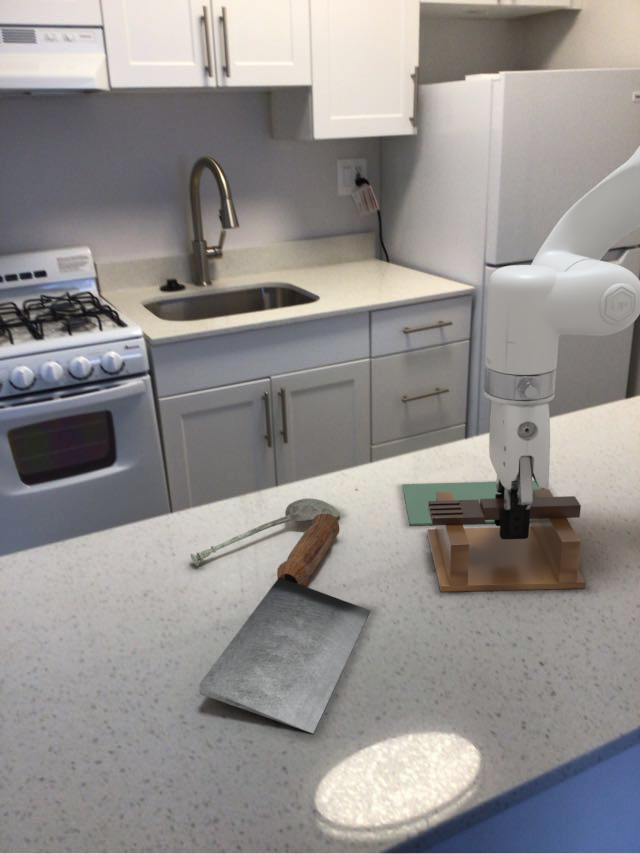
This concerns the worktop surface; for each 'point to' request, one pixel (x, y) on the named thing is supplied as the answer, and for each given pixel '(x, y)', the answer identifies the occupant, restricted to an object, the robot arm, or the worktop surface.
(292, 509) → the soupspoon
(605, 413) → the worktop surface
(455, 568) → the rack
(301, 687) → the meat cleaver
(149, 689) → the worktop surface
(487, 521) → the mat
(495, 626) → the worktop surface
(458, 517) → the fork
